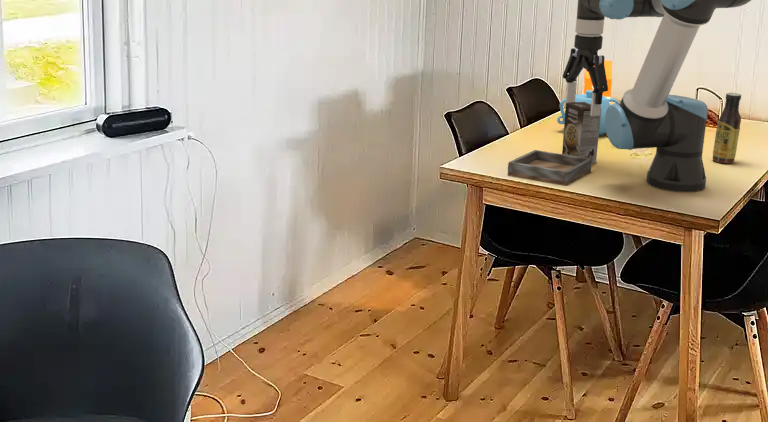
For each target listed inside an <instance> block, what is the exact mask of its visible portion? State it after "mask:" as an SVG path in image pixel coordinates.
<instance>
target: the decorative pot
mask: <svg viewBox="0 0 768 422" xmlns="http://www.w3.org/2000/svg"><path fill="white" fill-rule="evenodd" d="M592 92H593V90H587V91H586V94H583V93H581V94H579V93H578V94H577V93H576V97H575V102H586V103H588V104H591V101H592ZM565 102H566V97H565V98H563V99H561V101H560V102H559V109H560V113H561V115H559V116H558V117H557V119H556V121H557V124H558V125H564V123H565V110H564V104H565ZM609 102H610V103H609ZM611 102H613V103H614V104H615V103H616V104H619V103H620V102H619V101H618V100H617V99H616V98H613V97H611V98H609V99H607V98H606V97H605V96H603V95H602V103H601V118H600V128H599V137H604V136H605V134H607V133H606V128H605V114H606V110H607V108H608V107H609V106H610V105H611ZM561 119H562V120H561Z"/></svg>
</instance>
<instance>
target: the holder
mask: <svg viewBox="0 0 768 422" xmlns="http://www.w3.org/2000/svg"><path fill="white" fill-rule="evenodd" d="M591 172H592V159H588V158H582V157H575V156H569V155H563V154H562V153H555V152H549V151H545V150H544V151H543V150H537V149H533V150H532V151H530V152H528V153H525V154H522V155H521V156H519V157H517V158H515V159H512V160H511V161H509V162H508V164H507V176H511V175H512V177H517V178H522V179H528V180H535V181H539V182H540V181H541V182H545V183H550V184H551V183H552V184H556V185H562V186H569V184H572V183H574V182H575V181H577V180H579V179H580V178H583V177H584V176H586V175H588V174H589V173H591Z"/></svg>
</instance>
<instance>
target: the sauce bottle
mask: <svg viewBox="0 0 768 422" xmlns="http://www.w3.org/2000/svg"><path fill="white" fill-rule="evenodd" d="M741 99H742V94H741V93H738V92H727V93H726V95H725V103H724V107H723V110H722V112H721V114H720V116H719V118H718V120H717V125H716V132H715V137H714V144H713V150H712V160H713V161H714V162H716V163H719V164H733V163H735V158H736V156H737V150H738V149H737V148H738V143H739V136H740V132H741V123H742V117H741V114H740V112H739V109H740V102H741Z"/></svg>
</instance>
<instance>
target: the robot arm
mask: <svg viewBox="0 0 768 422" xmlns="http://www.w3.org/2000/svg"><path fill="white" fill-rule="evenodd" d="M751 1H752V0H577V8H576V9H577V10H576V20H575V33H576V34H575V36H574V45H573V47H574V48H570V54H569V57H568V60H567V63H566V66H565V69H564V71H563V73H562V78H563V79H565V82H566V90H565V91H566V92H565V98H566V102H564V104H565V106H566V103H568V102H575V97H576V94H577V85H578V84H577V79H578V77H579V75H580V74H581V72H582V70H583V69H584V70H585V69H586V71H588V72H589V75H590V79H591V82H592V85H593V88H594V90H593V92H592V101H591V112H590V115H591V116H599V115H600V112H601V103H602V95H603V92H605V91H608V84H607V78H606V72H605V65H604V60H605V55H598V52H599V51H600V50H602V48H603V40H604V39H603V38H604V37H603V36H602V35H603V34H604V28H605V27H604V25H605V18H607V19H608V18H609V20H619V21H620V20H623V19H626V18H651V17H652V18H661V20H660V23H659V25H658V27H657V31H656V32H655V35H654V38H653V40H652V42H651V45H650V47H649V49H648V51H647V54H646V56H645V59H644V62H643V64H642V67H641V69H640V71H639V73H638V75H637V78H636V80H635V83H634V85H633V87H631V88H630V89H627V90H626V91H625V92H624V93H623V96H622V98H621V100H620V102H619V104H616V103H615V102H614V103H613V104H610V106H609V107H608V108H607V110H606V114H605V128H606V133H605V134H606V136H607V139H608V140H609V143H610V144H611V145H612V146H613V147H614V148H616V149H619V150H629V151H632V150H639V149H649V148H651V149H652V148H656V151H655V155H654V157H653V160H652V162H651V164H650V167H649V169H648V171H647V172H646V179H645V182H646V184H648V185H650V186H651V187H653V188H657V189H659V190H660V189H661V190H664V191H672V192H681V193H682V192H683V193H684V192H685V193H686V192H687V193H689V192H698V191H702V190H703V189H706V185H707V177H706V170H705V167H704V162H703V151H704V143H705V135H706V128H707V127H706V126H707V121H708V105H707V104H706V102H704V101H702V100H699V99H696V98H693V97H688V96H682V95H676V94H670V93H671V91H672V88H673V86H674V84H675V82H676V79H677V77H678V75H679V72H680V71H681V69H682V66H683V64H684V62H685V59H686V58H687V55H688V54H689V50H690V49H691V46H692V45H693V42H694V39H695V38H696V36H697V33H698V32H699V29H700V27H701V26H703V25H706V24H708V23H709V22H710V21H711V18H712V17H713V15H714V12H715V10H716V9H727V8H728V9H730V8H731V9H733V8H738V7H742V6H745V5H746V4H748V3H750V2H751ZM603 86H604V87H603ZM597 87H598V88H597Z"/></svg>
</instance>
